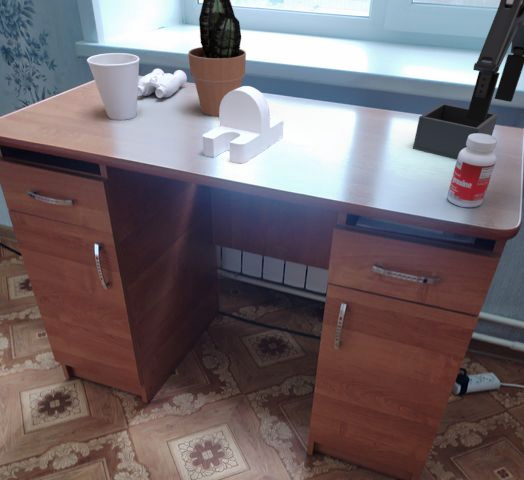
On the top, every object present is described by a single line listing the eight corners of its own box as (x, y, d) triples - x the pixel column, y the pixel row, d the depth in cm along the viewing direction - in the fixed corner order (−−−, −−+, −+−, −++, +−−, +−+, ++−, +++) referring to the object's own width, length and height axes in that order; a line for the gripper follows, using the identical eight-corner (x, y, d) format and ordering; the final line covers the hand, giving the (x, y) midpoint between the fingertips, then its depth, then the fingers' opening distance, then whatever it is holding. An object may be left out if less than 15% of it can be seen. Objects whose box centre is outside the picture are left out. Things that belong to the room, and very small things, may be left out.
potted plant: (182, 114, 125) (172, -8, 108) (207, 100, 135) (201, -15, 118) (232, 122, 121) (229, -4, 105) (254, 107, 131) (255, -11, 114)
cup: (105, 107, 129) (95, 52, 120) (151, 108, 128) (144, 53, 120) (91, 122, 120) (79, 63, 111) (141, 124, 119) (132, 65, 111)
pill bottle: (439, 196, 92) (455, 134, 85) (466, 191, 94) (484, 129, 86) (462, 211, 88) (481, 146, 80) (489, 205, 90) (510, 141, 82)
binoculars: (187, 86, 144) (186, 68, 141) (168, 102, 133) (166, 83, 129) (153, 84, 146) (151, 66, 143) (131, 99, 134) (128, 80, 131)
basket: (488, 145, 112) (498, 114, 108) (469, 162, 105) (478, 129, 100) (435, 133, 118) (442, 103, 113) (412, 148, 110) (419, 116, 106)
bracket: (243, 164, 102) (242, 103, 94) (201, 154, 105) (197, 95, 98) (284, 136, 115) (287, 81, 107) (246, 128, 118) (245, 74, 110)
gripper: (537, -66, 76) (491, 88, 90) (482, -62, 60) (437, 123, 75) (591, -63, 72) (535, 96, 86) (548, -58, 57) (488, 134, 71)
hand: (490, 109), depth 81 cm, fingers open, 13 cm apart
